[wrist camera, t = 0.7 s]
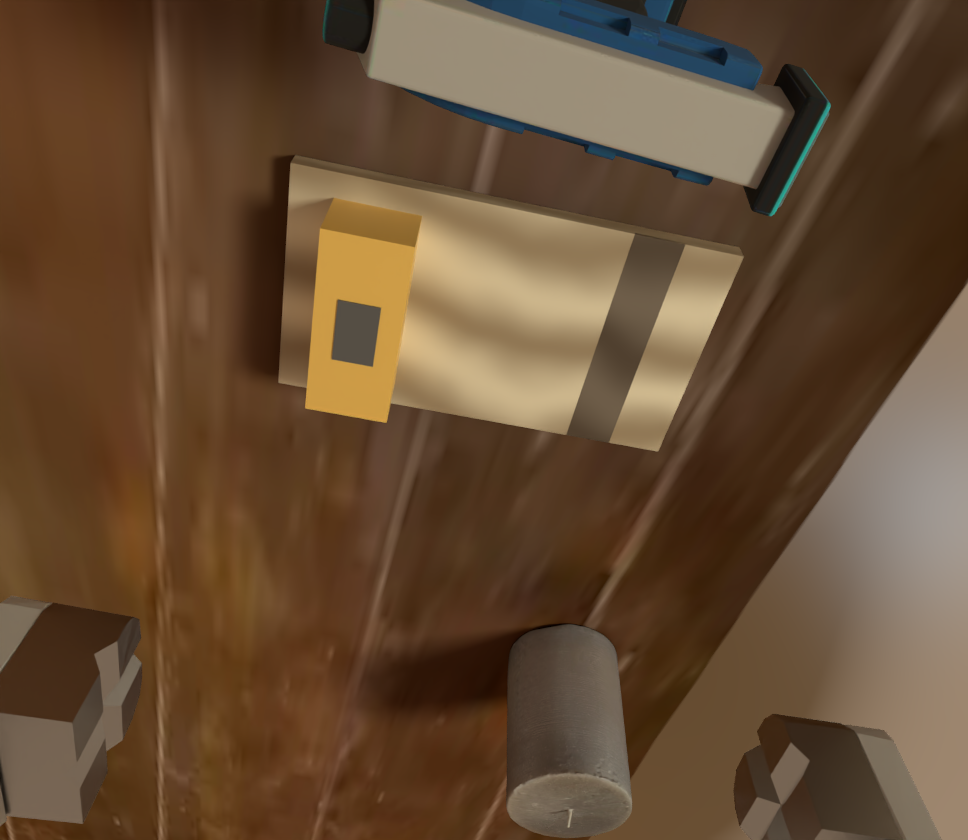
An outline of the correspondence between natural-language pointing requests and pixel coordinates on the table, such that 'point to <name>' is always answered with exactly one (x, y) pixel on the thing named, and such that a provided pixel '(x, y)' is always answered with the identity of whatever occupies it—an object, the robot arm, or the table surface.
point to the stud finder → (360, 308)
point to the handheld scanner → (596, 82)
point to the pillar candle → (566, 734)
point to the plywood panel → (522, 307)
